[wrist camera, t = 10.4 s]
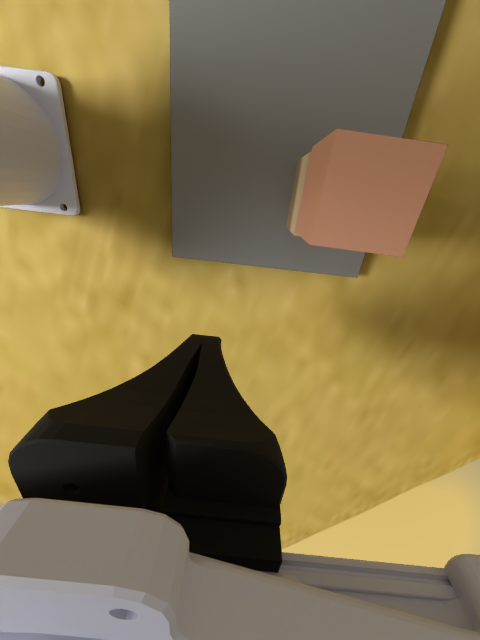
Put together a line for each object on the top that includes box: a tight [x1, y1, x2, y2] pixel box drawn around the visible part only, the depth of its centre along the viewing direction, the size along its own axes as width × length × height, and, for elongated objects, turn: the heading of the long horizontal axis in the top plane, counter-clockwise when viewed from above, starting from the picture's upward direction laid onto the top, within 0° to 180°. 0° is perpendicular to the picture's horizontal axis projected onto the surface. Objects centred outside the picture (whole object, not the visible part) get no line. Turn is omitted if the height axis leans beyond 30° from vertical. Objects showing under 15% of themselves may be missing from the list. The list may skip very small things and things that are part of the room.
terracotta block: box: [295, 129, 448, 257], centre depth 12 cm, size 4×4×4 cm
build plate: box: [169, 0, 446, 278], centre depth 16 cm, size 14×20×1 cm
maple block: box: [286, 152, 311, 236], centre depth 15 cm, size 4×4×4 cm
